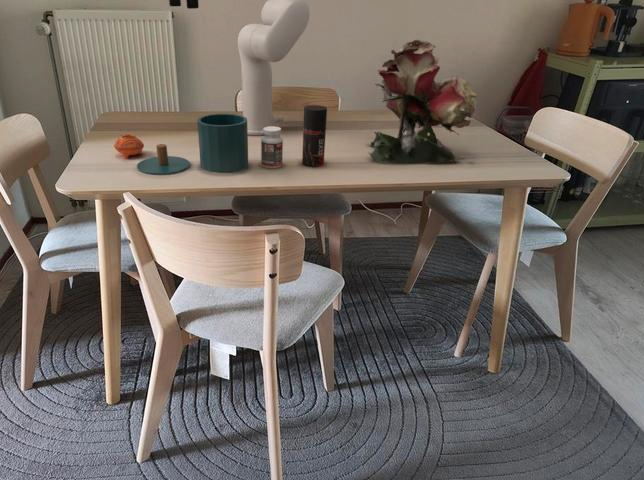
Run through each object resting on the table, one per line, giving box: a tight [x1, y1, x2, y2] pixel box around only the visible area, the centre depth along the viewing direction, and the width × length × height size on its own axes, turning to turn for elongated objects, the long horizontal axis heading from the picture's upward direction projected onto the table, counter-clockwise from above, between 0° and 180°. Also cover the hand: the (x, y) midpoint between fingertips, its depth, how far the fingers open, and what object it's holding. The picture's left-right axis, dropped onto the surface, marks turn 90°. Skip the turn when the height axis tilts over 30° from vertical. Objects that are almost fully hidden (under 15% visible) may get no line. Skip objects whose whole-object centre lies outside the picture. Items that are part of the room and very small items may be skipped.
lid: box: [136, 143, 191, 176], centre depth 130 cm, size 14×14×6 cm
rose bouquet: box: [367, 38, 478, 165], centre depth 141 cm, size 26×29×30 cm
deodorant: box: [301, 104, 328, 168], centre depth 133 cm, size 6×6×15 cm
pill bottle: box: [260, 125, 284, 169], centre depth 132 cm, size 6×6×10 cm
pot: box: [113, 133, 145, 160], centre depth 137 cm, size 8×8×7 cm
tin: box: [196, 113, 249, 174], centre depth 130 cm, size 13×13×12 cm
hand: (183, 7), depth 133 cm, fingers open, 9 cm apart
